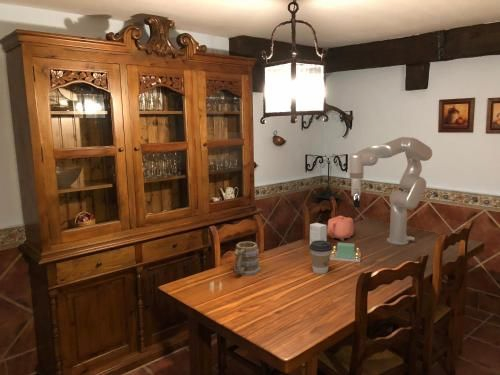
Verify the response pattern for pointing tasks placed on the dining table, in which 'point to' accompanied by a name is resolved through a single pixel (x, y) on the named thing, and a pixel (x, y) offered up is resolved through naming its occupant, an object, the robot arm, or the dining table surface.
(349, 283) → the dining table surface
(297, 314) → the dining table surface
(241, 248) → the tankard
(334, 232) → the teapot
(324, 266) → the coffee cup
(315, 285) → the dining table surface
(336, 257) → the chassis plate
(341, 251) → the block
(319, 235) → the small box
